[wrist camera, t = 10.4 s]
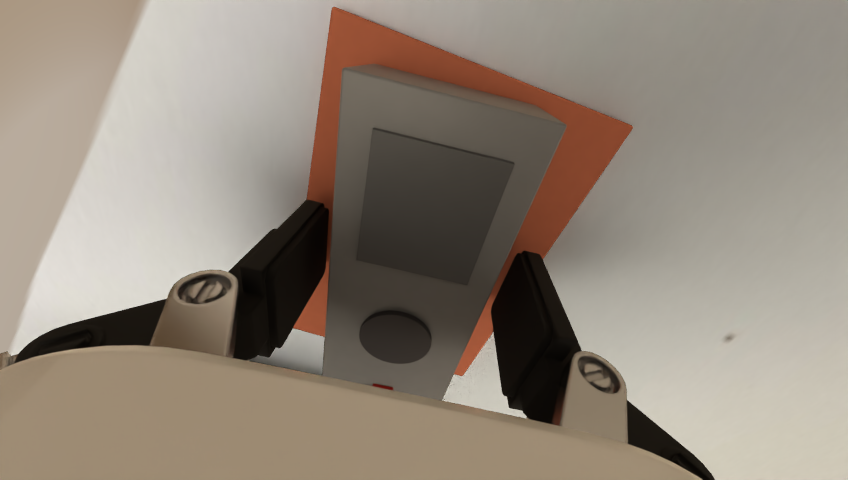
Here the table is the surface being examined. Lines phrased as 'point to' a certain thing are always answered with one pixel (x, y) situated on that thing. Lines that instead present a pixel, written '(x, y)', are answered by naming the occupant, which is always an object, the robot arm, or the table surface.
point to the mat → (374, 44)
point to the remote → (423, 221)
